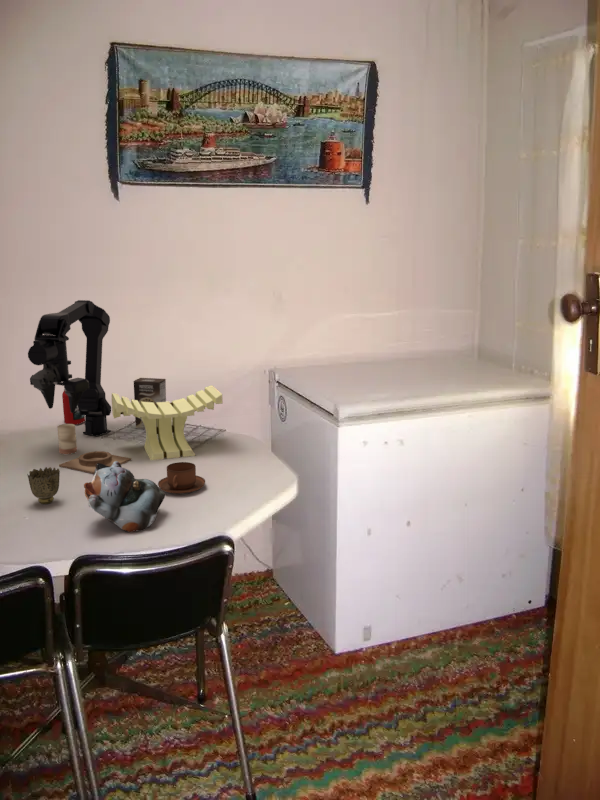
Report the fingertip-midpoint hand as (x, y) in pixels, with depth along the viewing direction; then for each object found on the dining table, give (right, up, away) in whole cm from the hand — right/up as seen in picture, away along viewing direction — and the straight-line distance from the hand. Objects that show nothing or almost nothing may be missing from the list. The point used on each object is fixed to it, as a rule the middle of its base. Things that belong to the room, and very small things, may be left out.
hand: (61, 410), depth 220 cm
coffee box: (+21, -6, +30) cm, 37 cm away
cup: (+8, -22, -36) cm, 43 cm away
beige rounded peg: (+1, -12, +3) cm, 13 cm away
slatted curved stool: (+31, -12, +5) cm, 33 cm away
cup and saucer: (+40, -20, -27) cm, 52 cm away
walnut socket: (+12, -15, -7) cm, 21 cm away
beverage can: (-6, -5, +34) cm, 35 cm away
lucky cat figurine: (+30, -25, -48) cm, 62 cm away
